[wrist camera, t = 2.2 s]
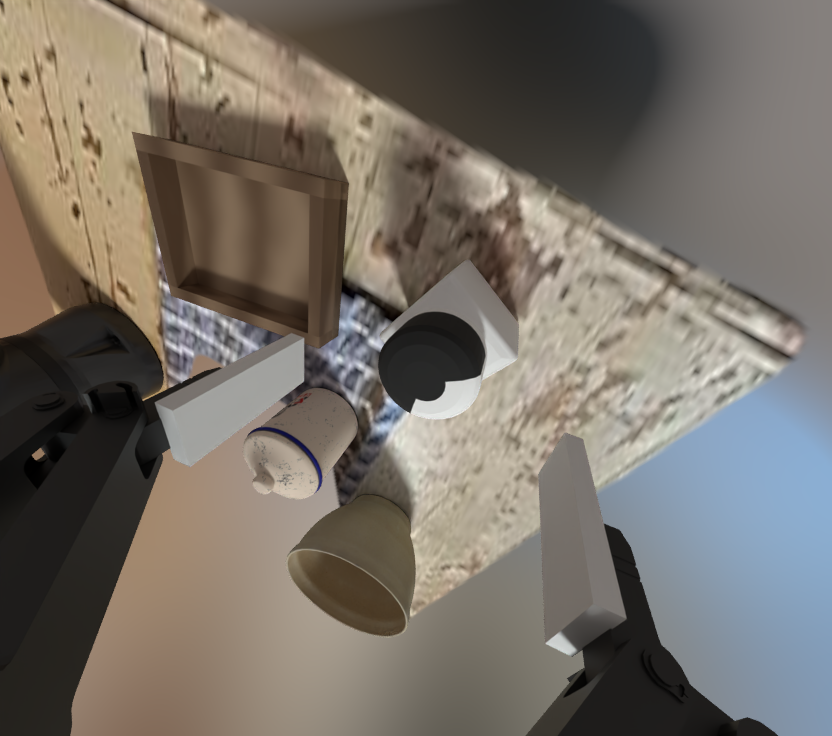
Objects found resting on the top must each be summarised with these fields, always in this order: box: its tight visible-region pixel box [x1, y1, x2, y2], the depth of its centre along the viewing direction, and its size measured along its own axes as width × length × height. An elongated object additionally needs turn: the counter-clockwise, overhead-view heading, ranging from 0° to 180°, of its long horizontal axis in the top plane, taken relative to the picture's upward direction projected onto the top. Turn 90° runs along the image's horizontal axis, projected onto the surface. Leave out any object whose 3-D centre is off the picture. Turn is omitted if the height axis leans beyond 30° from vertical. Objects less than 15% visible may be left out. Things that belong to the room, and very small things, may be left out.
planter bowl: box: [286, 495, 416, 637], centre depth 39 cm, size 16×16×11 cm
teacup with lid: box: [243, 388, 358, 499], centre depth 33 cm, size 12×9×12 cm
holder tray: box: [132, 132, 349, 348], centre depth 28 cm, size 18×14×4 cm
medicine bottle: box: [378, 260, 519, 419], centre depth 21 cm, size 7×7×12 cm
